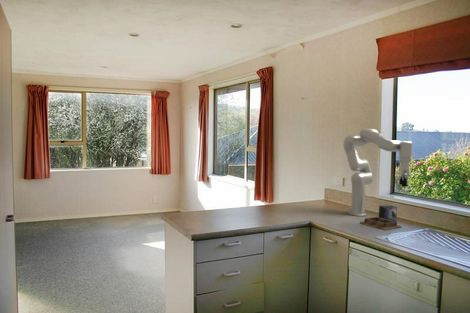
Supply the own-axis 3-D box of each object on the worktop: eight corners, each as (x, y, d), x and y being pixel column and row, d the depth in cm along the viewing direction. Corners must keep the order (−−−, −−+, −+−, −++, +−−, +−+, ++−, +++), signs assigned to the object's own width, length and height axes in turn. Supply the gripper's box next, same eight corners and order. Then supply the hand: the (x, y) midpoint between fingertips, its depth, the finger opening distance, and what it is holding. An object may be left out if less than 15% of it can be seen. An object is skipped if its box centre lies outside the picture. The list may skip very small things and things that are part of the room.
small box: (383, 222, 262) (383, 207, 261) (377, 220, 268) (378, 205, 268) (396, 222, 264) (397, 207, 263) (391, 219, 270) (392, 205, 270)
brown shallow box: (360, 223, 257) (360, 218, 256) (376, 221, 265) (376, 216, 265) (385, 230, 239) (385, 224, 239) (401, 227, 248) (401, 222, 247)
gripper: (397, 158, 261) (395, 183, 263) (400, 160, 245) (398, 186, 246) (408, 159, 259) (407, 184, 261) (413, 161, 243) (411, 187, 244)
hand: (403, 185), depth 253 cm, fingers open, 9 cm apart
